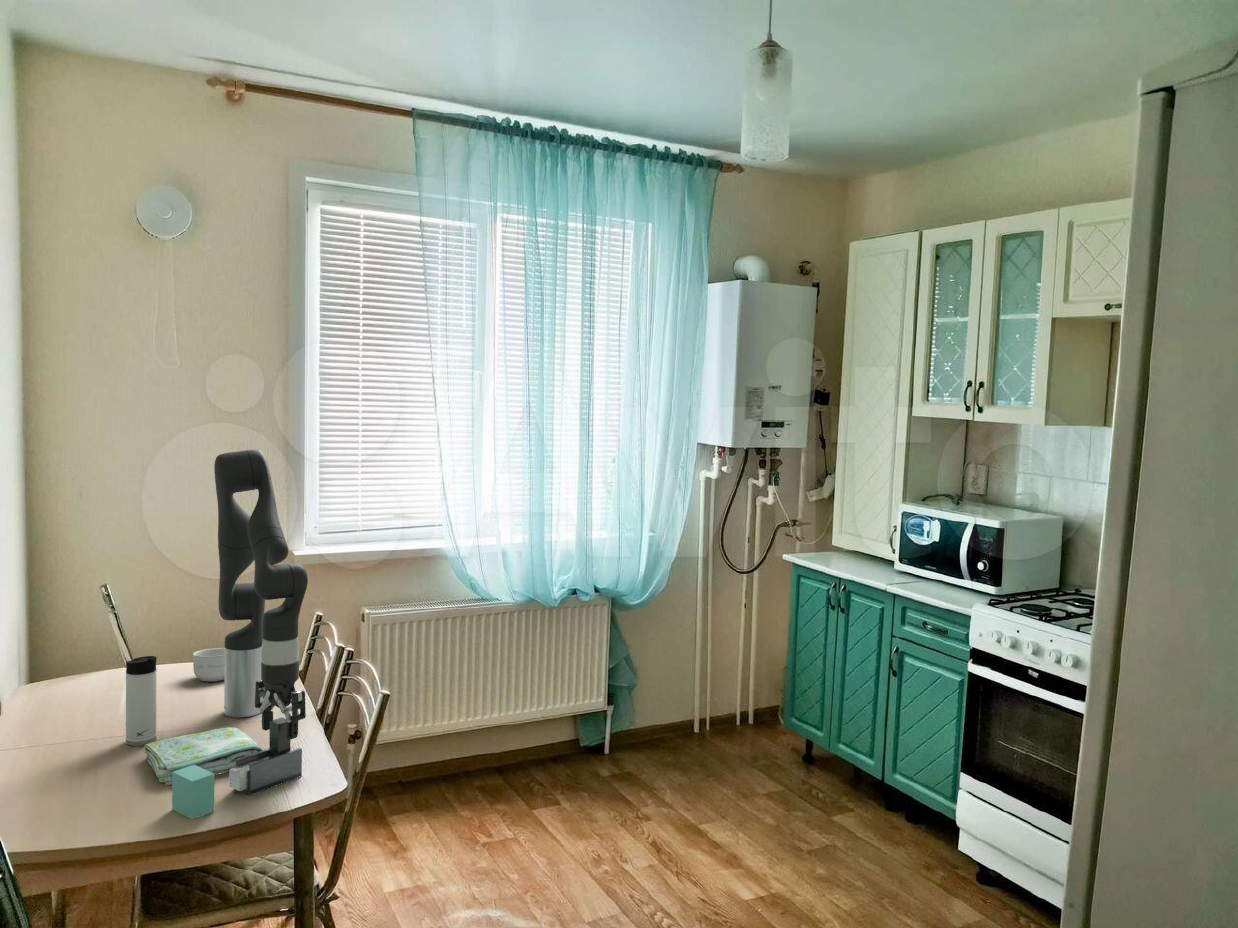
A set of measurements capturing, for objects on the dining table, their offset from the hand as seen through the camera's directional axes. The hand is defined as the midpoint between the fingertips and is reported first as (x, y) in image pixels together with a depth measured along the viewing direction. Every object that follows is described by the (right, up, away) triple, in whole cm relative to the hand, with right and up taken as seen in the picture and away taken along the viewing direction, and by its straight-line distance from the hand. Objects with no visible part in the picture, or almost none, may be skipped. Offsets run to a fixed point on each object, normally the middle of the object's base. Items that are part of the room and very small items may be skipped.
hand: (279, 733), depth 190 cm
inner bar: (-2, -9, -2) cm, 9 cm away
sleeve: (-2, -10, -1) cm, 10 cm away
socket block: (-11, -10, -15) cm, 21 cm away
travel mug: (-39, -7, +18) cm, 43 cm away
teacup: (-42, -4, +65) cm, 77 cm away
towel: (-20, -9, +8) cm, 23 cm away
